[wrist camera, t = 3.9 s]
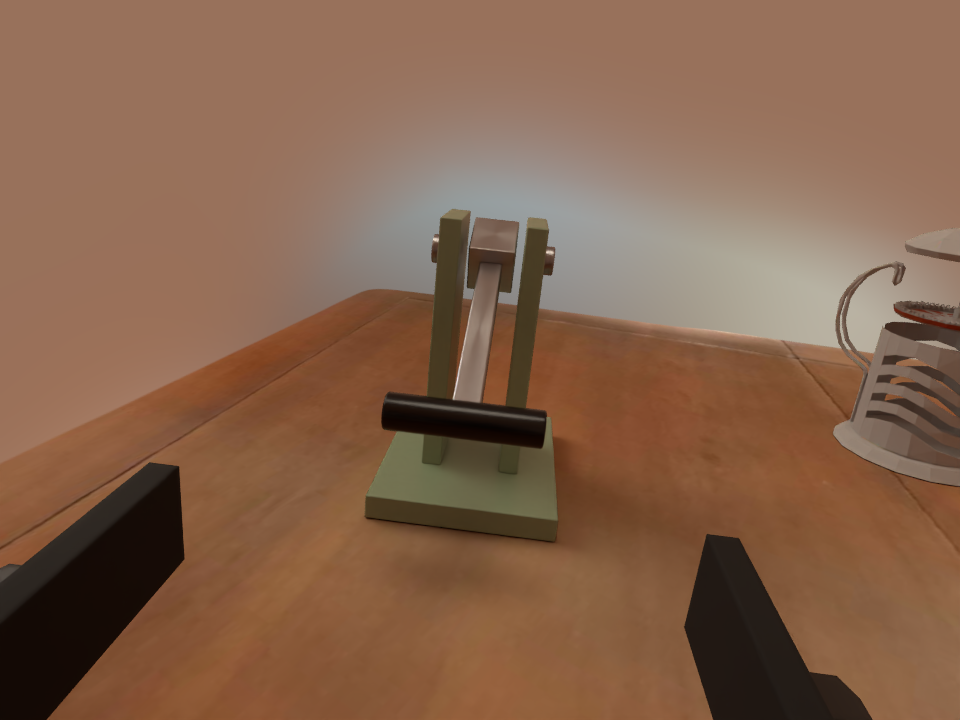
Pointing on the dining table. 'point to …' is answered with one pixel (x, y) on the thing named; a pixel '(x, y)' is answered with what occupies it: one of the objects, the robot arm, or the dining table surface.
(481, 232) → the lever
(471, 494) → the bracket
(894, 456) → the french press
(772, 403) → the dining table surface
